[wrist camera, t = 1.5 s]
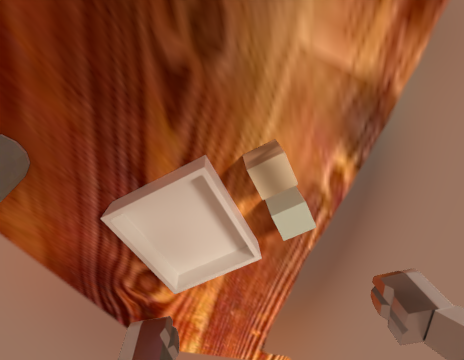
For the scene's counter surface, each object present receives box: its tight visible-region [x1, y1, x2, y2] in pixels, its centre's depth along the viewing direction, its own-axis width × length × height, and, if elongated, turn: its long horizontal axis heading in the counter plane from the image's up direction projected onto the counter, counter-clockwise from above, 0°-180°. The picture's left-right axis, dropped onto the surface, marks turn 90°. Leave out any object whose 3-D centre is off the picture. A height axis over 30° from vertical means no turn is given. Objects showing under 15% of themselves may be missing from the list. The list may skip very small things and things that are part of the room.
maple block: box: [243, 139, 298, 200], centre depth 32 cm, size 5×5×5 cm
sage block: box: [265, 186, 316, 241], centre depth 35 cm, size 5×5×5 cm
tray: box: [100, 155, 262, 294], centre depth 36 cm, size 16×18×4 cm
